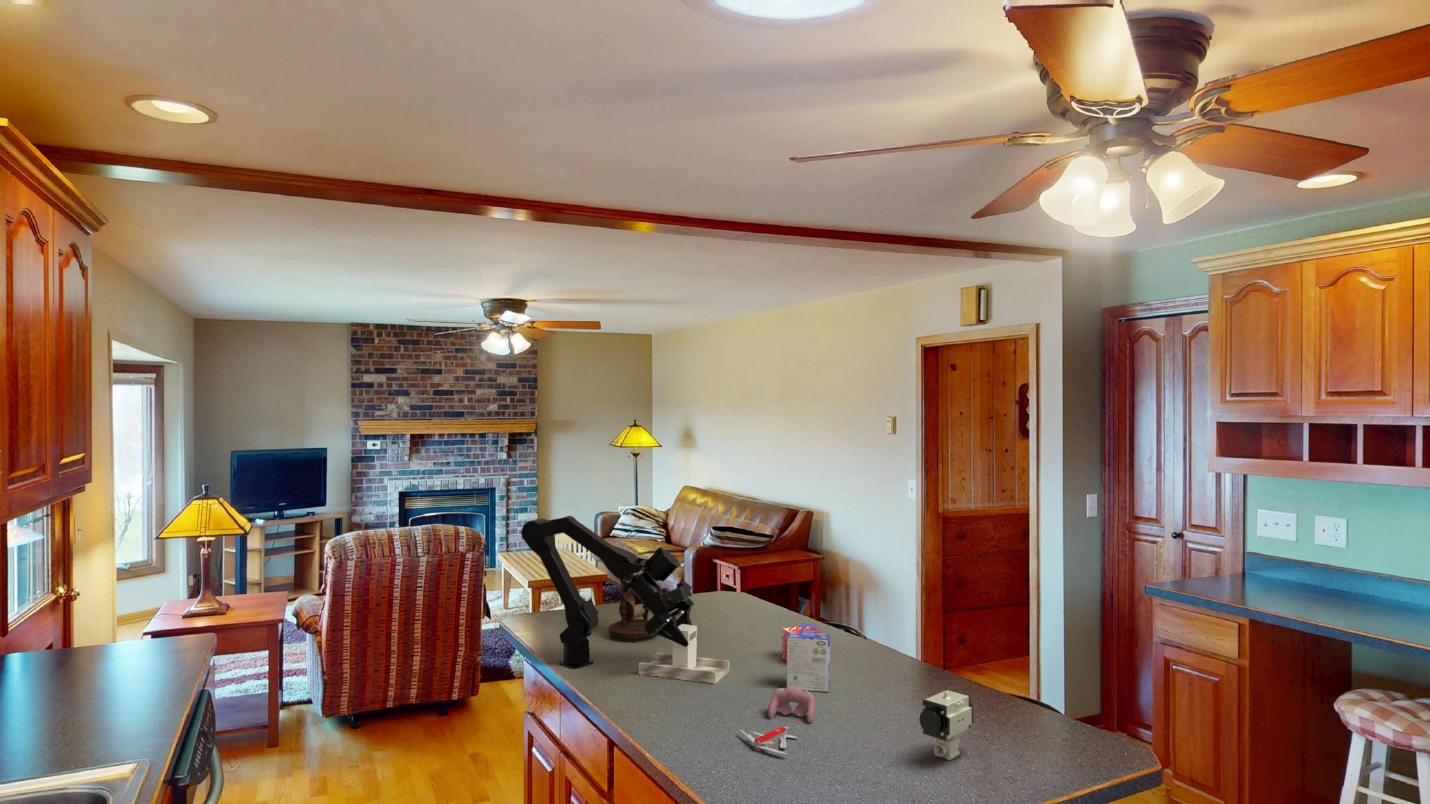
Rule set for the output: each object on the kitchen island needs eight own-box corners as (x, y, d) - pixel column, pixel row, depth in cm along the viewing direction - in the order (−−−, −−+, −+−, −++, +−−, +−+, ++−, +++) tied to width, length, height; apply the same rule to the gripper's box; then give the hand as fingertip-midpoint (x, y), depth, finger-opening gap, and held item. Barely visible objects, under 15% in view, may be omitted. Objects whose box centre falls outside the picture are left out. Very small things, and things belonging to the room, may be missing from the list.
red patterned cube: (809, 655, 221) (809, 625, 221) (823, 664, 214) (823, 633, 214) (782, 658, 218) (781, 628, 219) (794, 667, 211) (794, 636, 211)
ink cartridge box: (830, 685, 197) (830, 623, 197) (829, 693, 192) (829, 629, 192) (788, 682, 199) (788, 621, 199) (786, 690, 194) (786, 627, 194)
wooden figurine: (632, 626, 250) (632, 559, 250) (670, 634, 241) (670, 565, 242) (597, 637, 238) (597, 567, 238) (637, 646, 229) (637, 573, 230)
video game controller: (816, 725, 176) (818, 691, 179) (812, 723, 172) (815, 687, 175) (770, 720, 179) (774, 686, 182) (765, 717, 175) (769, 683, 178)
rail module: (672, 670, 204) (673, 629, 204) (681, 664, 209) (682, 624, 209) (687, 672, 202) (688, 631, 202) (696, 666, 208) (697, 625, 208)
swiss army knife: (762, 726, 172) (762, 716, 172) (819, 742, 164) (819, 732, 164) (727, 743, 163) (727, 732, 163) (785, 761, 155) (785, 750, 155)
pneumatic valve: (918, 761, 155) (918, 695, 155) (952, 743, 163) (952, 681, 163) (944, 770, 150) (944, 703, 151) (978, 752, 159) (978, 688, 159)
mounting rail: (638, 674, 205) (638, 663, 205) (655, 663, 214) (655, 652, 214) (714, 684, 197) (714, 672, 198) (729, 672, 207) (729, 660, 207)
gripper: (655, 579, 198) (699, 630, 194) (686, 566, 216) (726, 612, 212) (626, 610, 201) (668, 661, 197) (658, 594, 219) (698, 640, 215)
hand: (692, 642), depth 205 cm, fingers closed on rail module, 5 cm apart
